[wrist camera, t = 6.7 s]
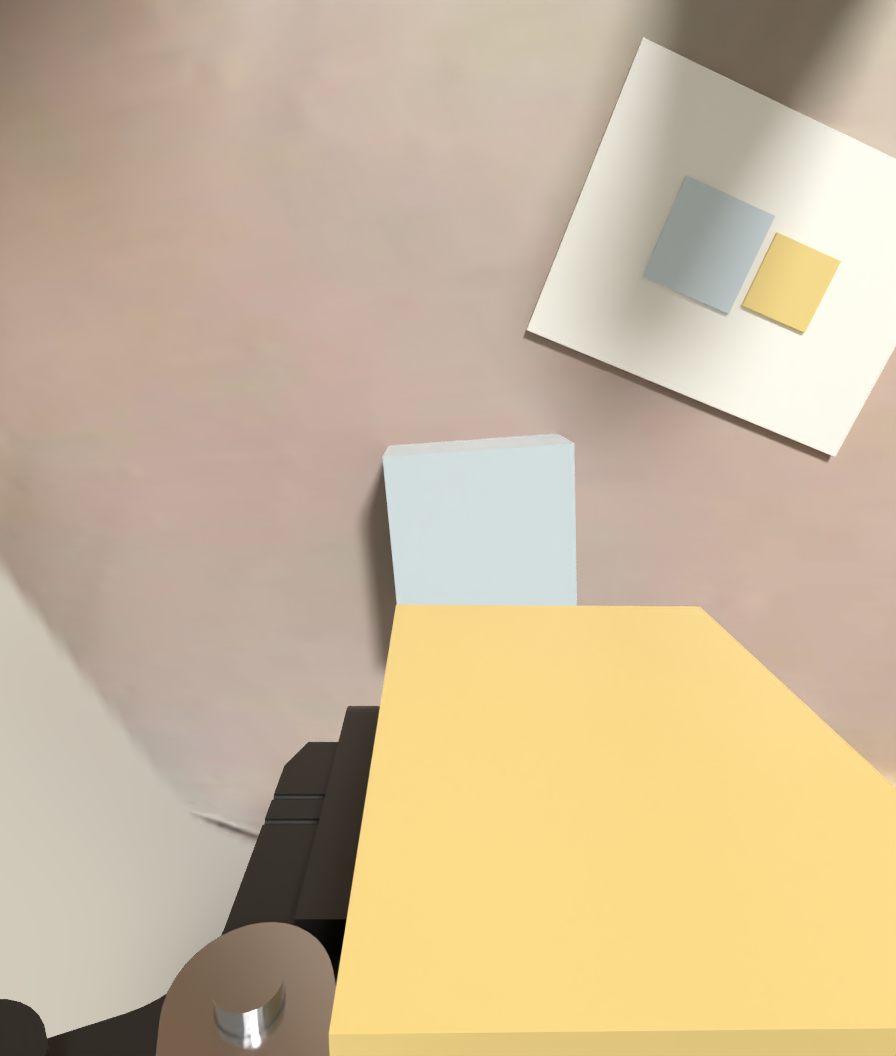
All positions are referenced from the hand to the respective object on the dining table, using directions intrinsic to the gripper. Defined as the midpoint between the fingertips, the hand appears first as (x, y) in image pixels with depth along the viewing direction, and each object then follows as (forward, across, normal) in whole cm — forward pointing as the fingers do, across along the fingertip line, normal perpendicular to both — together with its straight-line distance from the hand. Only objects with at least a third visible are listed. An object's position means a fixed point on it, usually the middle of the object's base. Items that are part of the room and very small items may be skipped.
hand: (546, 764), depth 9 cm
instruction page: (+14, -9, -9) cm, 19 cm away
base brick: (+14, 0, 0) cm, 14 cm away
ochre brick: (+1, 0, 0) cm, 1 cm away
